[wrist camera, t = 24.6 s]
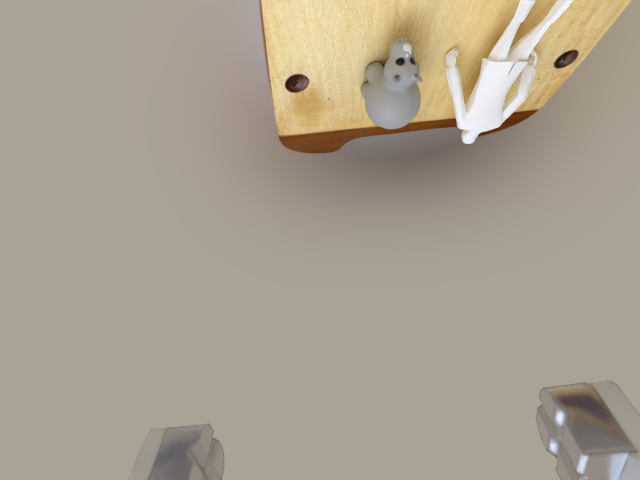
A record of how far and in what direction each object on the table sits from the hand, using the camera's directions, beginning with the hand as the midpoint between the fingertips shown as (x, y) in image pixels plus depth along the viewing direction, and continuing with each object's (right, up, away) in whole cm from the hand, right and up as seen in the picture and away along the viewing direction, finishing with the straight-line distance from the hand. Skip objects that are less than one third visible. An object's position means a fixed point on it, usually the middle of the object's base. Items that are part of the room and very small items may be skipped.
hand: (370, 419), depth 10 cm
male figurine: (+22, +31, +44) cm, 58 cm away
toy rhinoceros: (+8, +28, +44) cm, 53 cm away
